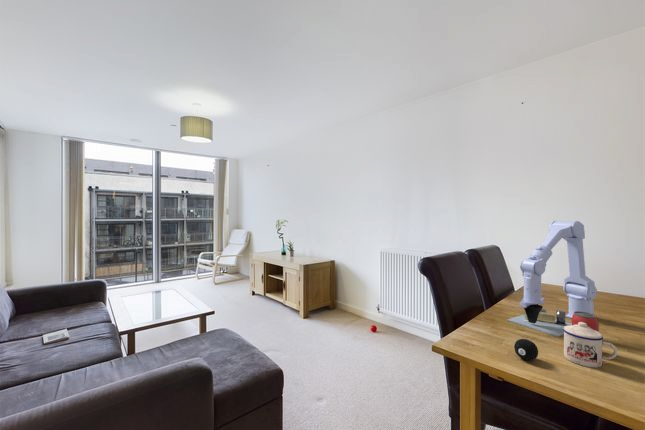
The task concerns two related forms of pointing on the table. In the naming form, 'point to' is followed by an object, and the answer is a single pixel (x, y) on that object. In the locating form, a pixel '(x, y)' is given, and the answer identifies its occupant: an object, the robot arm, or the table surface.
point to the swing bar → (545, 317)
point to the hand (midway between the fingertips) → (532, 322)
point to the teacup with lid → (585, 345)
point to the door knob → (560, 318)
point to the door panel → (540, 325)
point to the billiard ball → (526, 349)
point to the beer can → (586, 320)
